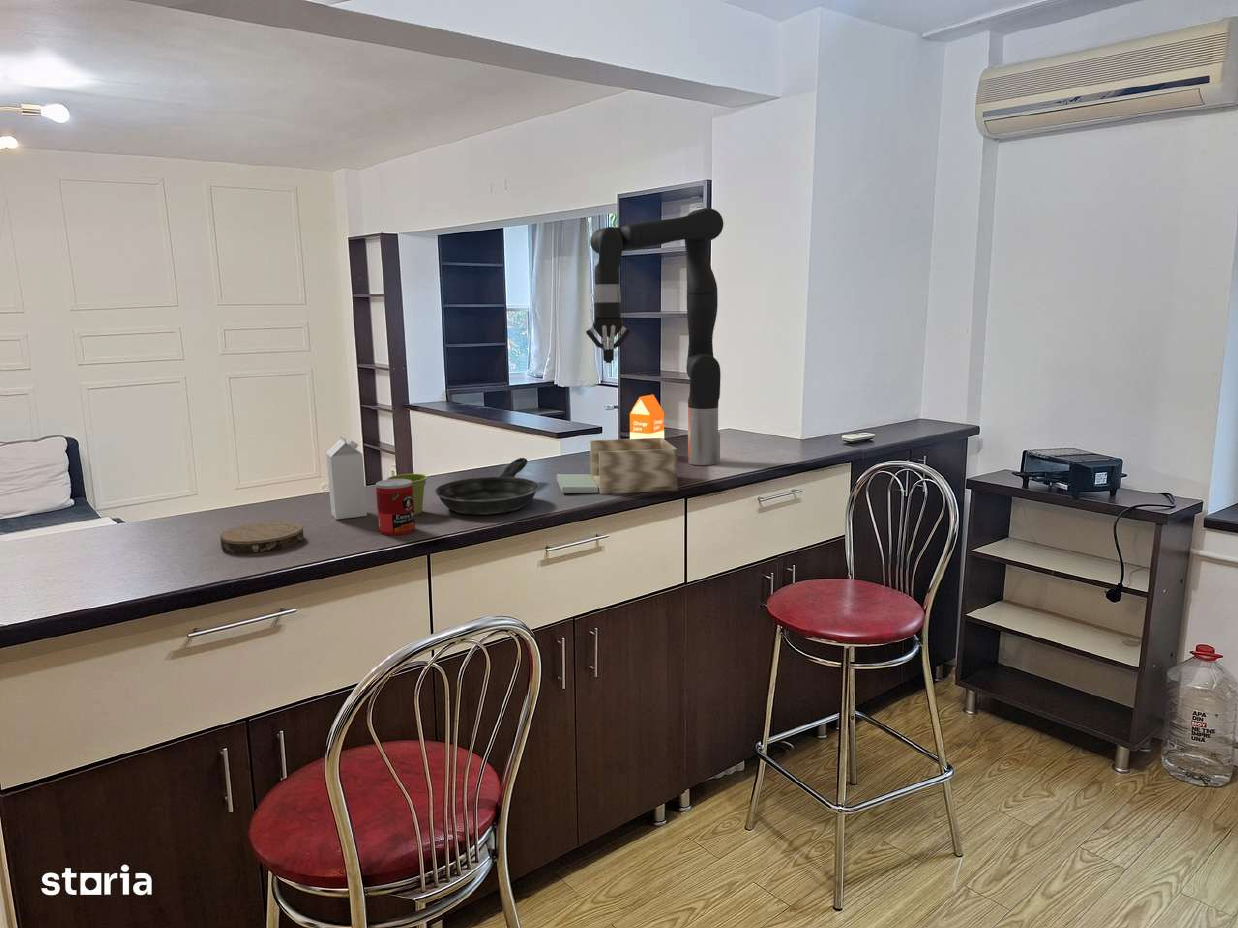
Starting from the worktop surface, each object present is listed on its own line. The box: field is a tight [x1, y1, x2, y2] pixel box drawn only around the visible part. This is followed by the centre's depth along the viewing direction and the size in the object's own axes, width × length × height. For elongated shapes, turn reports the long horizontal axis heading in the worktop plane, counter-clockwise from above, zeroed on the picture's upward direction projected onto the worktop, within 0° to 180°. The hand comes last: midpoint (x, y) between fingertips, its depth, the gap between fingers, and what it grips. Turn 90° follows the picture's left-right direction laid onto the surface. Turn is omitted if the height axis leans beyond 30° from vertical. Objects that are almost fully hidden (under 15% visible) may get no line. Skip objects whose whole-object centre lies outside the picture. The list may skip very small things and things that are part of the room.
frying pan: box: [434, 457, 540, 516], centre depth 209 cm, size 44×25×7 cm, turn 168°
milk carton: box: [325, 434, 368, 520], centre depth 192 cm, size 7×7×19 cm
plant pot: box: [385, 473, 428, 516], centre depth 194 cm, size 9×9×9 cm
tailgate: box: [556, 473, 599, 494], centre depth 220 cm, size 2×17×9 cm
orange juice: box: [629, 394, 665, 440], centre depth 261 cm, size 8×9×20 cm
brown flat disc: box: [219, 520, 305, 555], centre depth 171 cm, size 16×16×3 cm
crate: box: [589, 438, 678, 495], centre depth 222 cm, size 20×20×11 cm
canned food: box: [375, 478, 416, 536], centre depth 178 cm, size 8×8×11 cm
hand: (608, 362), depth 234 cm, fingers closed
